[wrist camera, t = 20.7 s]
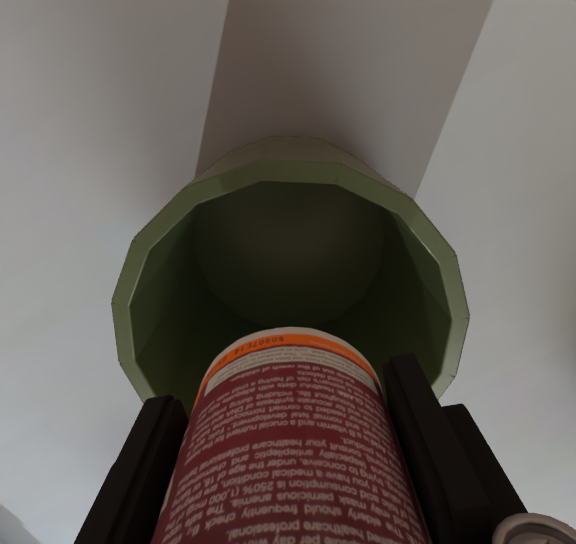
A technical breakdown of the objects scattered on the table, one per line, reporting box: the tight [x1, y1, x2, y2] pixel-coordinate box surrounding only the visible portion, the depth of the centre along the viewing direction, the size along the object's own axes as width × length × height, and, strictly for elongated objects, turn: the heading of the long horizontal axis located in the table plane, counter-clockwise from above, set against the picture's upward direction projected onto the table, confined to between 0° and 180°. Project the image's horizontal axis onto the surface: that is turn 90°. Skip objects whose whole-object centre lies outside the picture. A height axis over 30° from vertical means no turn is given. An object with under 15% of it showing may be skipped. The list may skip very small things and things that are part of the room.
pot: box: [111, 136, 470, 420], centre depth 19 cm, size 12×12×10 cm
